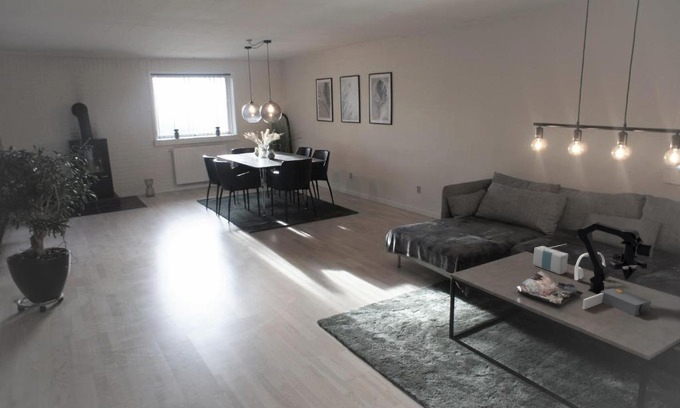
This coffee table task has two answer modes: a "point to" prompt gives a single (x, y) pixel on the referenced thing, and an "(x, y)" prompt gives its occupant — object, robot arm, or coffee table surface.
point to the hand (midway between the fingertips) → (626, 279)
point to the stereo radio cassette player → (550, 259)
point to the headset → (578, 271)
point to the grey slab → (626, 301)
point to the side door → (593, 301)
